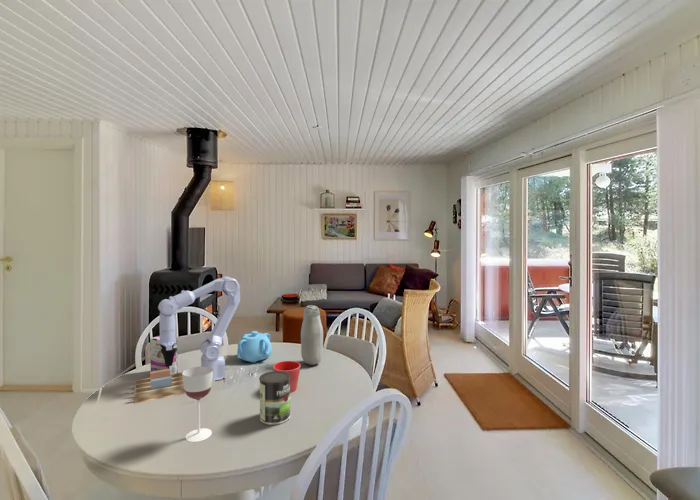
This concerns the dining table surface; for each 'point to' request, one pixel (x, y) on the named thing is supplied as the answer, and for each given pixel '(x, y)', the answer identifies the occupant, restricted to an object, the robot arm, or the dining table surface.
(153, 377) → the salmon pink block
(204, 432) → the wineglass
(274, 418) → the coffee can
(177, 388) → the dish rack
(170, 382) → the slate plate
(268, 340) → the decorative pot
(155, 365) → the candy bar box
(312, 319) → the grey bottle
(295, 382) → the flower pot
